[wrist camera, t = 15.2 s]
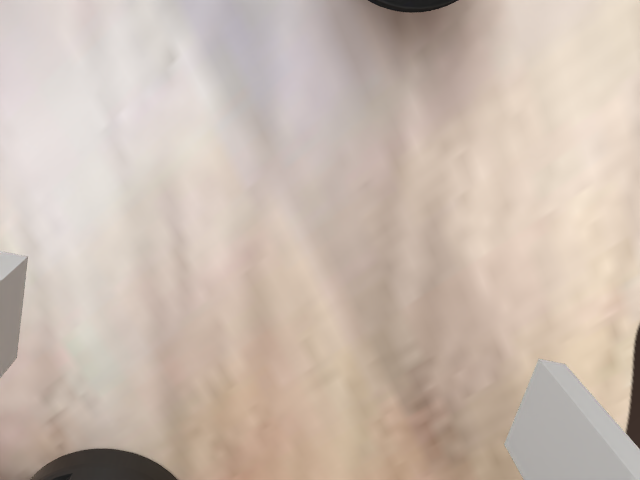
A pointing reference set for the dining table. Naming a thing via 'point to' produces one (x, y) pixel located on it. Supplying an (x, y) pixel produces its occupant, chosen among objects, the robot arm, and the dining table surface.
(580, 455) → the robot arm
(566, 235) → the dining table surface
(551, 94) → the dining table surface
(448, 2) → the coffee cup
